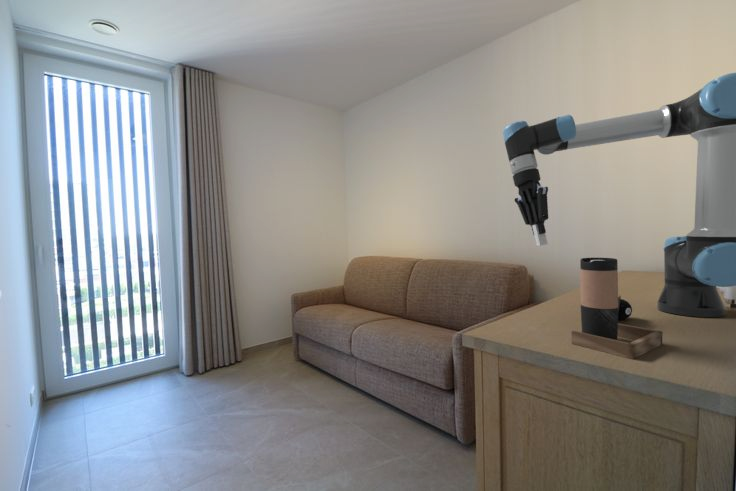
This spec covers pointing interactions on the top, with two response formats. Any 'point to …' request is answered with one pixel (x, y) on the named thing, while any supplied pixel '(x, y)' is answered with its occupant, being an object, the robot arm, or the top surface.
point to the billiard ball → (624, 310)
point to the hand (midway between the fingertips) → (542, 245)
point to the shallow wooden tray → (641, 345)
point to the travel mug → (599, 296)
